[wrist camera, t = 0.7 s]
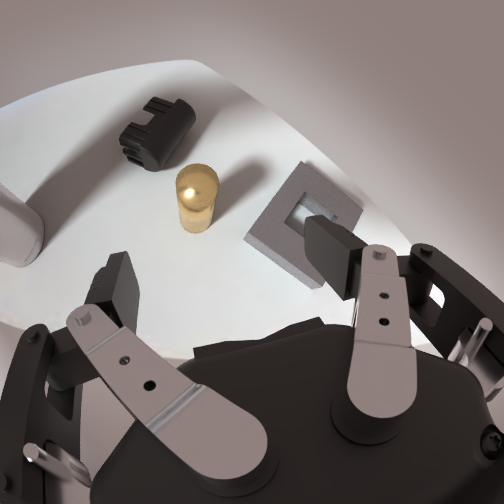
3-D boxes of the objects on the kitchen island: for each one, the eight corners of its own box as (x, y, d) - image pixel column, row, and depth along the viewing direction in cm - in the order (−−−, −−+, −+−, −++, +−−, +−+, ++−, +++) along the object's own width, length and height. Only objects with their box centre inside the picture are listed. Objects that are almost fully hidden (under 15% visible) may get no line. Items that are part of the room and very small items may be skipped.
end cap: (162, 180, 38) (158, 155, 31) (124, 162, 37) (115, 137, 31) (195, 131, 41) (197, 104, 34) (159, 117, 40) (156, 90, 33)
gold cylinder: (173, 221, 37) (166, 185, 26) (193, 197, 38) (194, 156, 27) (198, 239, 37) (200, 210, 26) (217, 215, 38) (227, 179, 28)
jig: (243, 239, 38) (247, 232, 35) (293, 171, 42) (300, 160, 39) (311, 289, 39) (322, 286, 35) (351, 217, 43) (363, 209, 39)
